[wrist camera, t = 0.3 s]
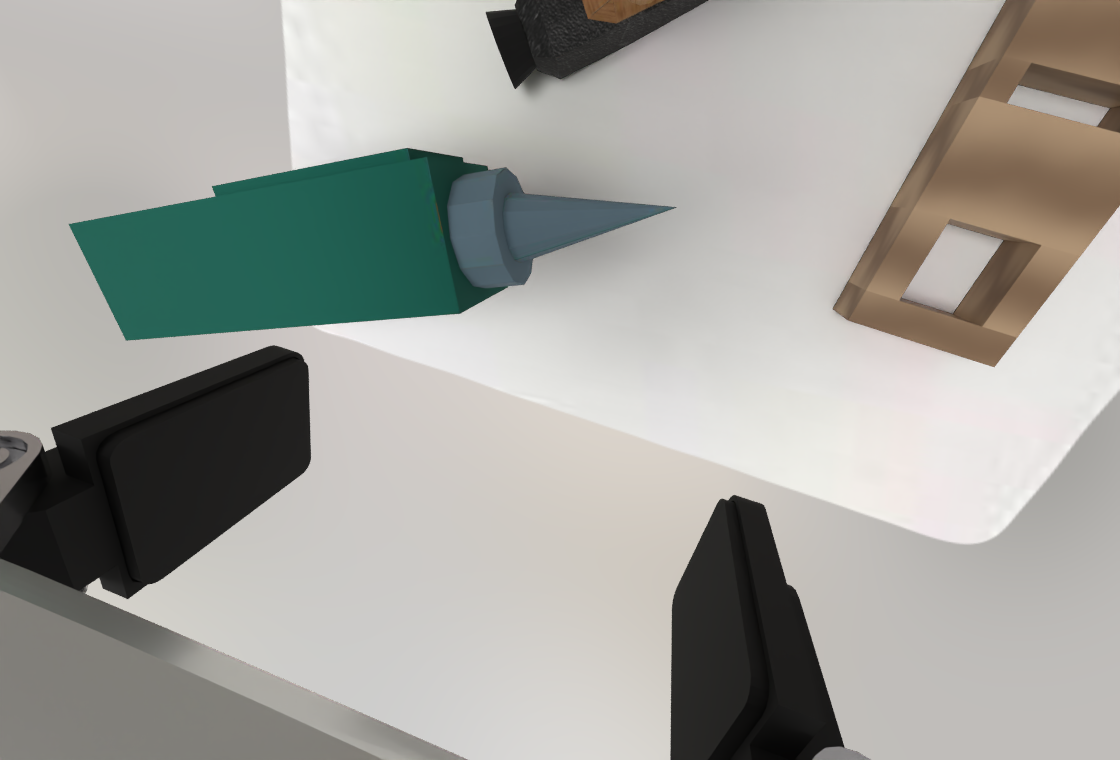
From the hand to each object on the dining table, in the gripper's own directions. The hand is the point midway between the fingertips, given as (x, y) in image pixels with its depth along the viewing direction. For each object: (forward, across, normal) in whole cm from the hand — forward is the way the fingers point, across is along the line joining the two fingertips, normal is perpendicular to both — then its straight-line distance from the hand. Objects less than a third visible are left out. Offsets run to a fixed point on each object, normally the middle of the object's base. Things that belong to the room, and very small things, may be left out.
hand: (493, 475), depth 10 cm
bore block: (+31, -22, -11) cm, 39 cm away
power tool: (+31, +13, 0) cm, 34 cm away
